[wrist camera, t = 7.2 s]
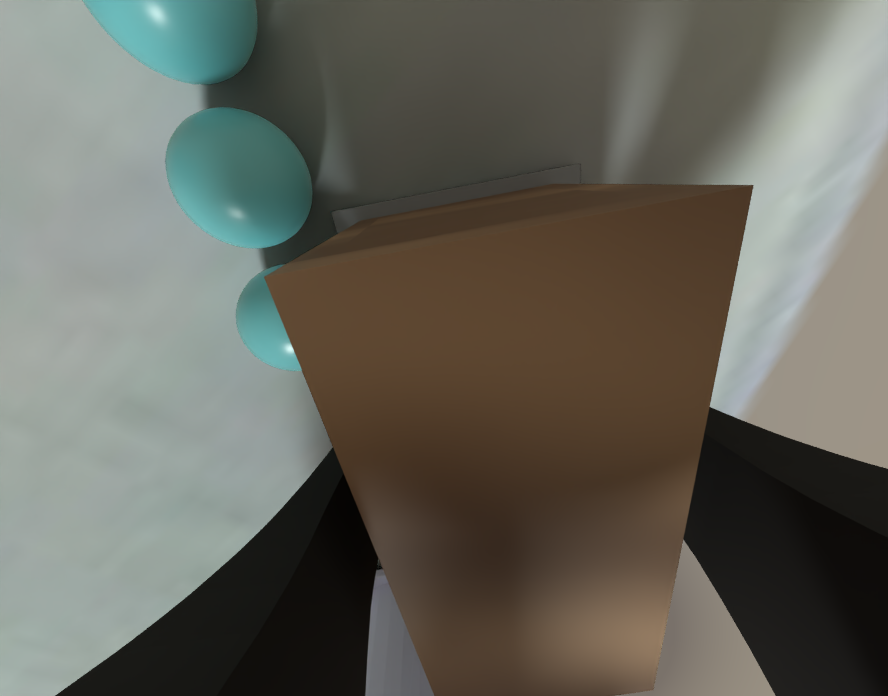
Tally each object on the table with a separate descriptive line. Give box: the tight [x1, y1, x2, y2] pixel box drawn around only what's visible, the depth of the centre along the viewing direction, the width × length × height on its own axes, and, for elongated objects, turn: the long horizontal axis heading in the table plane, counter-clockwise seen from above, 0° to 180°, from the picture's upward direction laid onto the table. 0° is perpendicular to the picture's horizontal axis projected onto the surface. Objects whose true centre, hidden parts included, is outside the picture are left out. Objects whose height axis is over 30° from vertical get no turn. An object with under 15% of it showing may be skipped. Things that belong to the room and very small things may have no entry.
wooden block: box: [264, 184, 753, 696], centre depth 9 cm, size 12×6×6 cm, turn 10°
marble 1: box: [165, 107, 312, 248], centre depth 8 cm, size 3×3×3 cm
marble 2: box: [236, 264, 302, 371], centre depth 10 cm, size 3×3×3 cm
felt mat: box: [331, 164, 581, 234], centre depth 13 cm, size 13×7×1 cm, turn 10°
